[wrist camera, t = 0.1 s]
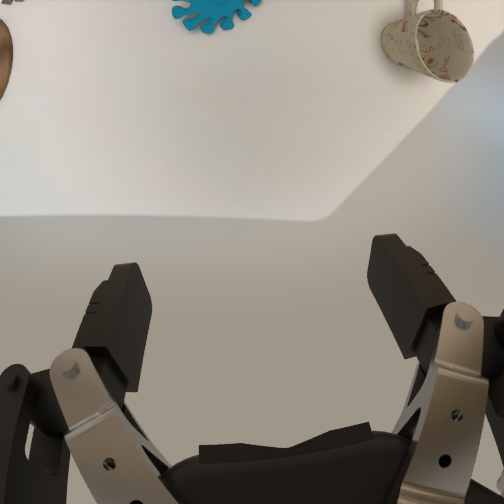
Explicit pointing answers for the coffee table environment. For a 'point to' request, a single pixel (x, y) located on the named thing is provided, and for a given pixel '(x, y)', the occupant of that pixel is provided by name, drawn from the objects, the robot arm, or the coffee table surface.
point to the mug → (430, 44)
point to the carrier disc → (5, 56)
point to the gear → (212, 13)
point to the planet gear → (10, 1)
